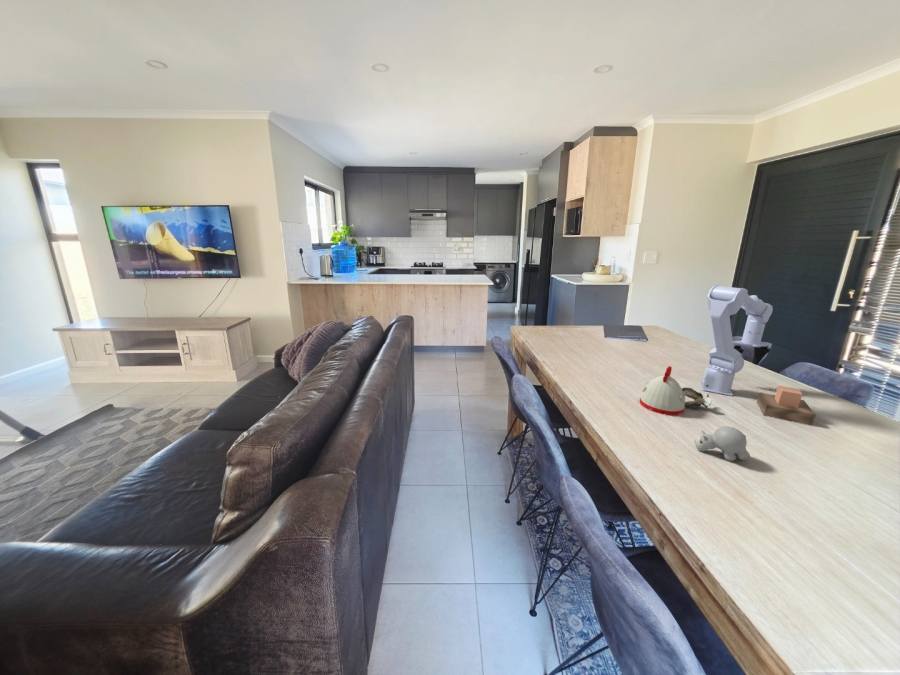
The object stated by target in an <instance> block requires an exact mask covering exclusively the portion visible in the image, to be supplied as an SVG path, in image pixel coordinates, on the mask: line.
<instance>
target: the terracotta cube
mask: <svg viewBox="0 0 900 675" xmlns="http://www.w3.org/2000/svg"><path fill="white" fill-rule="evenodd" d="M774 395H775V398H774V399H775V400H776V402H777V403H778V404H780V405H786V406H791V407H797V408H798V406H799V403H800V400H802V397H803V393H802V392H801V391H800V390H799V389H798V388H796V387H794V388H793V387H787V386H783V385H778V386H777V388H776V392H775V394H774Z"/></svg>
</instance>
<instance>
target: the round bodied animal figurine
mask: <svg viewBox="0 0 900 675" xmlns="http://www.w3.org/2000/svg"><path fill="white" fill-rule="evenodd" d="M701 433H702V435H701V436H700V437H699V440H697V441H696V439H693V444H694V445H695V446H696V449H697V450H698V451H700V452H707V451H708V450H715V449H719V450H721V452H722V454H723V458H724V459H725V461H729V462H733V461H735V460H736V459H737V458H738V459H739V460H741V461H748V460H751V455H750V453H749V452H748V450H747V448H746V447H747V441H748V440H747V436H746V435H745V434H744V433H743V432H742V431H740V430H739V429H738V428H736V427H732V426H721V427H718V429H716V430H715V431H714V433H713V434H709V433H706V432H705V431H703V430H701Z"/></svg>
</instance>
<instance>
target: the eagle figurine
mask: <svg viewBox="0 0 900 675" xmlns="http://www.w3.org/2000/svg"><path fill="white" fill-rule="evenodd" d="M681 389H682V391H685V397H687V398H689V399H691V400H687V401H685V408H692V407H696V408H699V407H702V406H704V408H705V409H706V410H708V408H709V406H711V403H713V399H712V398H711V397H710V395H709V394H710V393H707V395H706V397H705V398H704V395H703V393H701V392H699V391H698V392H697V390H695V389H693V388H692V387H681Z"/></svg>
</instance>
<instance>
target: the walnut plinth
mask: <svg viewBox="0 0 900 675" xmlns="http://www.w3.org/2000/svg"><path fill="white" fill-rule="evenodd" d="M775 395H776V394H771V393H766V392H758V397H757V400H756V403H757V406H758V407H759V409H760V412H761V413H762V415H763V416H764V417H768V416H769V418H773V417H774V418H775V419H778V418H779V419H778V420H784V421H789V422H792V421H794V423H797V422H798V424H802V423H803V424H802V425H807V424H808V425H807V426H813V423H814V420H815V418H816V413H815V412H814V411H813V410H812V409H811V407H810V406H809V404H808V403H807V402H806V401H805V400H803V399H801V400H800V403H799V406H798V408H797V407H791V406H786V405H780V404H778V403H777V402H776V400H775V399H774V398H775Z"/></svg>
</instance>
